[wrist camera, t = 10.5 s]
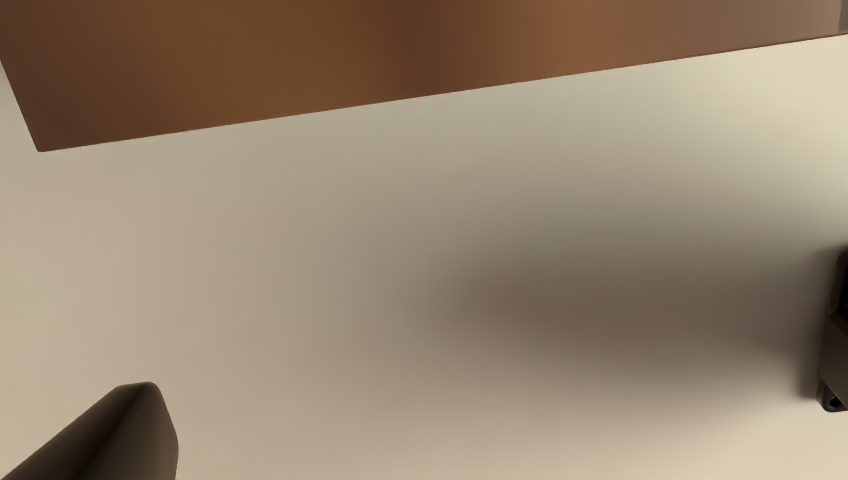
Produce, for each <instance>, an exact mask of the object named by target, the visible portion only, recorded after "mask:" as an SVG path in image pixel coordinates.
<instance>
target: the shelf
mask: <svg viewBox="0 0 848 480" xmlns="http://www.w3.org/2000/svg"><path fill="white" fill-rule="evenodd" d="M847 34H848V0H0V60H1V63H2V65H3V68H4V70H5V73H6V75H7V78H8V80H9V83H10V85H11V88H12V90H13V92H14V95H15V97H16V100H17V102H18V105H19V107H20V110H21V112H22V115H23V117H24V120H25V122H26V125H27V127H28V129H29V132H30V134H31V137H32V139H33V142H34V144H35V147H36V149H37V151H38V152H47V151H54V150H60V149H67V148H74V147H81V146H88V145H95V144H101V143H108V142H115V141H122V140H129V139H136V138H142V137H149V136H156V135H163V134H170V133H177V132H184V131H190V130H197V129H204V128H211V127H218V126H225V125H231V124H238V123H245V122H252V121H259V120H266V119H272V118H279V117H286V116H293V115H300V114H307V113H313V112H320V111H327V110H334V109H341V108H348V107H354V106H361V105H368V104H375V103H382V102H389V101H395V100H402V99H409V98H416V97H423V96H430V95H437V94H443V93H450V92H457V91H464V90H471V89H478V88H484V87H491V86H498V85H505V84H512V83H519V82H525V81H532V80H539V79H546V78H553V77H560V76H566V75H573V74H580V73H587V72H594V71H601V70H607V69H614V68H621V67H628V66H635V65H642V64H648V63H655V62H662V61H669V60H676V59H683V58H689V57H696V56H703V55H710V54H717V53H724V52H731V51H737V50H744V49H751V48H758V47H765V46H772V45H778V44H785V43H792V42H799V41H806V40H813V39H819V38H826V37H833V36H840V35H847Z"/></svg>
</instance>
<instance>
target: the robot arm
mask: <svg viewBox="0 0 848 480" xmlns="http://www.w3.org/2000/svg"><path fill="white" fill-rule="evenodd" d="M818 375H819V381H818V387H817V394H816V400H817V401H818V402H819V404H820V405H821V406H822V407H823V409H824V410H825V411H827V412H841V411H847V410H848V250H846V251H845V252H843V253H842V255H841V256H840V257H839V259H838V262H837V268H836V274H835V280H834V287H833V293H832V299H831V305H830V312H829V314H828V315H827V317H826V323H825V329H824V336H823V342H822V348H821V355H820V361H819V368H818ZM833 397H834V398H833ZM832 398H833V399H832ZM178 450H179V448H178V439H177V435H176V432H175V429H174V426H173V424H172V421H171V418H170V415H169V413H168V410H167V407H166V405H165V402H164V399H163V396H162V394H161V391H160V389H159V388H158V387H157V385H156V384H154V383H152V382H142V383H134V384H126V385H120V386H118V387H116V388H114V389H113V390H112V391H110V392H109V393H108V394H107V395H105V396H104V397H103V398H102V399H100V400H99V401H98V402H97V403H95V404H94V405H93V406H92V407H90V408H89V409H88V410H87V411H86V412H84V413H83V414H82V415H81V416H79V417H78V418H77V419H76V420H74V421H73V422H72V423H71V424H69V425H68V426H67V427H66V428H64V429H63V430H62V431H61V432H59V433H58V434H57V435H56V436H54V437H53V438H52V439H51V440H50V441H48V442H47V443H46V444H45V445H43V446H42V447H41V448H40V449H38V450H37V451H36V452H35V453H33V454H32V455H31V456H30V457H28V458H27V459H26V460H25V461H23V462H22V463H21V464H20V465H18V466H17V467H16V468H15V469H13V470H12V471H11V472H10V473H8V474H7V475H6V476H5V477H4V478H2V479H1V480H175V476H176V469H177V462H178Z"/></svg>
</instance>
